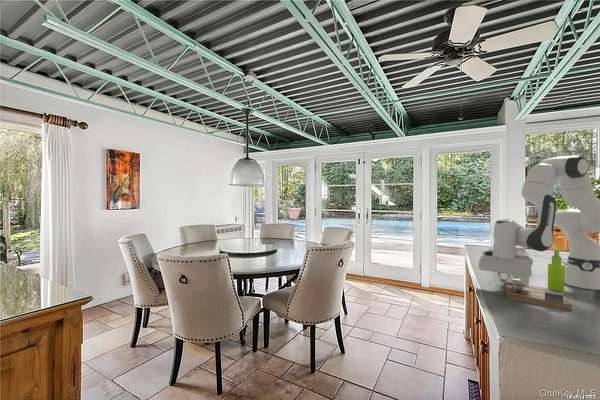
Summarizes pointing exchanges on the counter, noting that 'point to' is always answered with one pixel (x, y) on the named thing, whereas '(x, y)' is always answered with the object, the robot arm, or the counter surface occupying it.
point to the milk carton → (523, 278)
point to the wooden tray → (539, 296)
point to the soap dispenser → (556, 272)
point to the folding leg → (517, 285)
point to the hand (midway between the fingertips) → (503, 282)
